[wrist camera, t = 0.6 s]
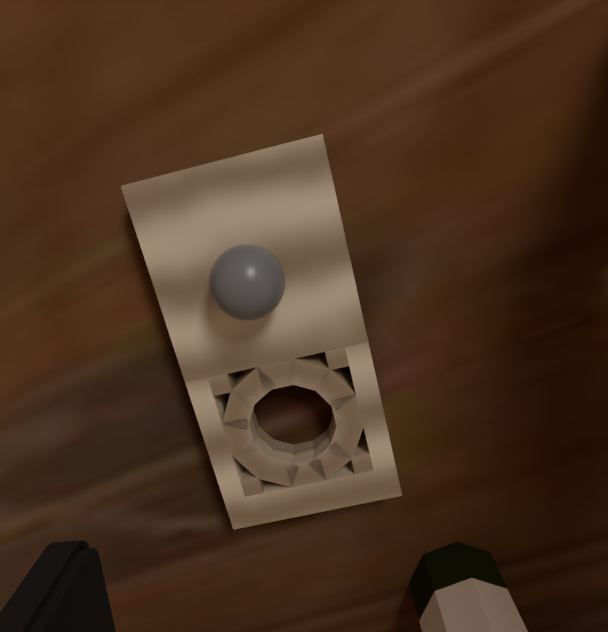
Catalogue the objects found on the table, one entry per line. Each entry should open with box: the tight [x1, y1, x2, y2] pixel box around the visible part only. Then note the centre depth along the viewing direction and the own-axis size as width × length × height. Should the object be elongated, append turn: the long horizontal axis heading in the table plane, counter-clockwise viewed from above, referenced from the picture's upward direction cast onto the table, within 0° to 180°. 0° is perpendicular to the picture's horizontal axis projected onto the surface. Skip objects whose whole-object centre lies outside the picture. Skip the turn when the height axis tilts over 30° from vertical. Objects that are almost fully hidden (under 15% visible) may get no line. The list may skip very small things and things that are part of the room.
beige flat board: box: [121, 134, 402, 530], centre depth 38 cm, size 28×14×3 cm, turn 14°
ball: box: [209, 244, 285, 321], centre depth 33 cm, size 5×5×5 cm
